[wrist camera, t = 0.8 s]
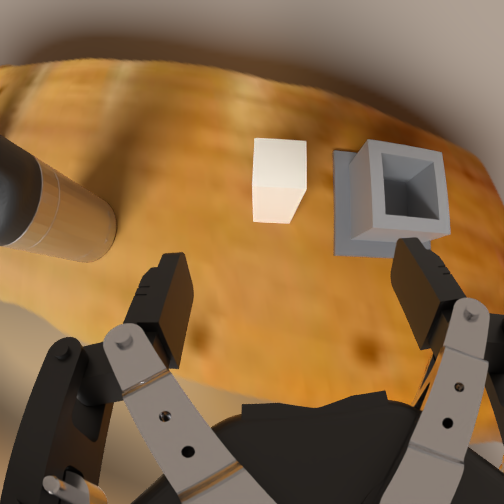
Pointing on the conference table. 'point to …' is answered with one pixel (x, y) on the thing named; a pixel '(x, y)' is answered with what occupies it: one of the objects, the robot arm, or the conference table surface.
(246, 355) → the conference table surface
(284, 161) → the white square block
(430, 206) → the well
